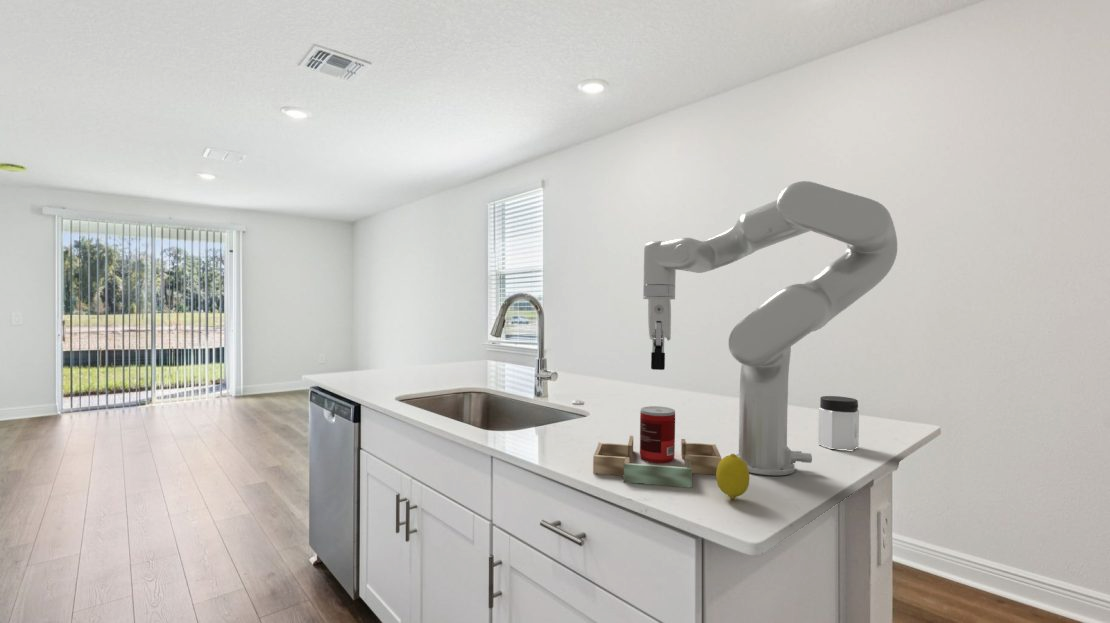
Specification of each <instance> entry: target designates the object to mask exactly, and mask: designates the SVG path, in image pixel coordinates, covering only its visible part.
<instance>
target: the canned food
mask: <svg viewBox="0 0 1110 623" xmlns="http://www.w3.org/2000/svg"><path fill="white" fill-rule="evenodd" d="M639 414H640V418H639V422H640V423H639V424H640V425H639V454H640V455H639V456H640V458H641V460H642V461H644V460H645V462H647V461H648V462H647V463H651V462H653V464H669V463H671V462H673V461H674V459H675V452H676V451H675V449H676V448H675V447H676V444H675V442H676V440H675V439H676V410H675V409H674V408H671V407H667V406H666V407H665V406H655V405H651V406H650V405H649V406H644V407H641V408H640V412H639ZM668 462H669V463H668Z"/></svg>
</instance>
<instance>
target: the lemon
mask: <svg viewBox="0 0 1110 623" xmlns="http://www.w3.org/2000/svg"><path fill="white" fill-rule="evenodd" d="M736 455H737V454H735V453H730V455H729V454H728V455H725V456H724V457H722V458H721V461H720V462H719V464H718V467H717V472H716V475H715V477H716V483H717V486H718V488H719V490H720V491H721V492H722V493H723V494H725V495H727V496H728V497H729V499H730V500H734V499H736V498H737V497H740V496H742V495H744V494H745V493H746V492H747V490H748V488H749V486H750V472H749V470H748V467H747V465H746V463H745V462H744V461H743V460H742V459H741V458H739V457H738V456H736Z"/></svg>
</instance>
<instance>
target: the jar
mask: <svg viewBox="0 0 1110 623" xmlns="http://www.w3.org/2000/svg"><path fill="white" fill-rule="evenodd" d="M819 399H820V400H819V401H820V407H819V408H818V419H817V420H818V422H817V423H818V426H817V427H818V428H817V430H818V431H817V433H818V434H817V435H818V436H817V437H818V438H817V440H818V441H817V445H818V444H821V445H824V446H827V447H830V448H834V449H847V450H854V449H855V448H856V447H858V448H859V443H860V442H859V440H860V439H859V437H860V435H859V433H860V432H859V430H860V426H859V425H860V411H859V401H858V399H856V398H853V397H848V396H847V397H846V396H840V395H839V396H838V395H822V396H821V397H820V398H819ZM854 451H855V450H854Z"/></svg>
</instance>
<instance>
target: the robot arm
mask: <svg viewBox="0 0 1110 623" xmlns="http://www.w3.org/2000/svg"><path fill="white" fill-rule="evenodd" d="M808 232H813V233H816V234H820V235H822V236H825V237H828V238H831V239H834V240H837V241H839V242H842V243H845V244H846V245H847V248H846V250H845V251H844V252H843V254H842V255H841V256H839V258H837V259H835V260H834V261H833V262H831V263H830V264H828V265H827V266H826V267H825V268H824V269H822V270H821V271H820V272H819V273H817V274H816V275H815V276H813V277H812V278H811V279H809V280H808V281H806V282H805V283H795V284H791V285H789V286H786V287H784V288H783V289H781V290H779V291H777V293H775V294H774V295H773V296H771V297H770V298H769V299H767V300H765V302H764V303H761V305H760V306H758V307H757V308H756V309H755V310H753V311H752V312H750V313H749V314H748V315H746V316H745V317H744V318H742V320H740V321H739V322H738V323H737V324H736V325H735V326H734V327H733V329H732V330H731V331H730V334H729V336H728V350H729V352H730V354H731V356H732V357H733V358H734V359H735V360H736V361H737V362H738V363H740V364H741V367H740V376H739V377H740V378H739V402H738V403H739V404H738V405H739V411H738V412H739V413H738V414H739V415H738V417H739V418H738V454H737V453H736V454H735V455H736V456H738V457H739V458H741V459H742V460H743V461H744V462H745V463H746V465H747V467H748V470H749V474H757V475H763V476H786V475H791V474H793V473H794V472H795V469H796V468H795V467H796V465H795V464H796V462H799V463H800V462H801V463H805V464H812V462H813V455H812V453H811V452H810V453H809V452H802V451H801V450H791V449H790V447H788V409H789V408H788V407H789V406H788V403H789V402H788V400H789V399H788V398H789V397H788V396H789V373H790V371H789V370H790V362H791V361H790V360H791V352H792V350H791V349H792V348H791V347H792V346H793V345H795V344H797V343H798V342H799V341H800V340H802V339H803V338H805V337H807V335H809V334H811V333H812V332H816V331H818V330H821V329H822V328H823V327H825V326H826V325H827V324H828V323H829V322H831V320H832V319H834V318H836V317H837V315H838V316H839V314H841V313H842V312H843V311H845V310H846V309H848V308H849V307H850V306H852V305H853V304H854V303H855V302H857V301H858V300H860V298H862V297H863V296H864V295H865V294H867V293H869V292H870V291H871V290H873V289H874V288H875V287H877V285H878V284H879V283H881V282H882V280H884V279H885V277H887V275H888V274H889V272H890V271H891V270H892V267H893V266H894V264H895V261H896V259H897V256H898V255H897V254H898V238H897V232H896V227H895V224H894V221H893V218H892V217H891V213H890V212H889V210H888V209H887V208H886V207H885V206H884V205H883V204H882V203H881V202H879V201H876V200H874V199H872V198H870V197H865V196H862V195H858V194H854V193H851V192H847V191H844V190H841V189H837V188H834V187H829V186H827V185H823V184H820V183H817V182H813V181H809V180H806V181H805V180H804V181H803V180H802V181H797V182H793V183H791V184H790V185H788V186H786V187H785V188H784V189H783V190H782V191H781V193H780V194H779V195H778V198H777V199H776V200H774V201H771V202H768V203H766V204H764V205H762V206H759V207H756V208H754V209H751V210H749V211H746V212H745V213H742V214H741V216H739V218H738V220H736V222H735V224H734V225H733V226H732V227H731V228H729V229H727V230H726V231H725V232H723V233H720V234H718V235H716V236H713V237H710V238H708V239H706V240H698V239H695V238H692V237H681V238H676V239H672V240H667V241H666V240H659V241H658V240H657V241H655V240H654V241H650V242H647V243H646V244H645V245H644V247H643V292H642V294H643V295H642V296H643V300H647V301H648V304H647V308H648V310H647V311H648V313H647V315H648V316H647V318H648V319H647V320H648V321H647V323H648V324H647V325H648V336H649V339H650V340H651V341H652V349H651V350H652V352H650V354H651V356H650V359H651V362H650V369H651V370H654V371H655V370H656V371H657V370H658V371H665V367H666V366H665V365H666V353H665V339H667V341H668V342H669V341H671V339H672V336H671V334H672V332H671V331H672V327H671V326H672V305H671V303H672V302H671V300H676V274H677V273H676V271H677V270H678V271H683V272H684V271H685V272H689V273H691V272H692V273H695V274H703V273H707V272H710V271H713V270H715V269H719V268H721V267H725V266H727V265H730V264H732V263H735V262H737V261H739V260H742V259H744V258H745V257H748V256H749V255H752V254H753V253H755V252H757V251H759V250H762V249H764V248H767V247H770V246H772V245H775V244H777V243H780V242H784V241H787V240H788V239H791V238H795V237H798V236H800V235H802V234H807V233H808Z"/></svg>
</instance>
